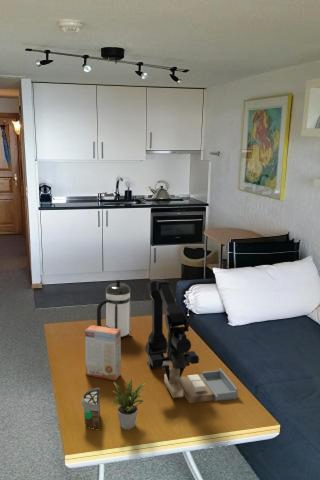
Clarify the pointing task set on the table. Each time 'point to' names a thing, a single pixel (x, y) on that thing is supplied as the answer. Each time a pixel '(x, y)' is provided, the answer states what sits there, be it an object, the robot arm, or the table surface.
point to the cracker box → (103, 352)
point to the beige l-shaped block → (174, 382)
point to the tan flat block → (195, 396)
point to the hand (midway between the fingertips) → (173, 379)
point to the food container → (91, 407)
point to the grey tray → (220, 385)
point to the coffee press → (116, 308)
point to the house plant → (128, 405)
